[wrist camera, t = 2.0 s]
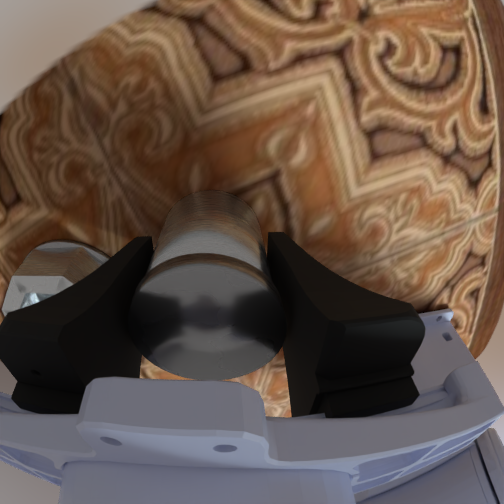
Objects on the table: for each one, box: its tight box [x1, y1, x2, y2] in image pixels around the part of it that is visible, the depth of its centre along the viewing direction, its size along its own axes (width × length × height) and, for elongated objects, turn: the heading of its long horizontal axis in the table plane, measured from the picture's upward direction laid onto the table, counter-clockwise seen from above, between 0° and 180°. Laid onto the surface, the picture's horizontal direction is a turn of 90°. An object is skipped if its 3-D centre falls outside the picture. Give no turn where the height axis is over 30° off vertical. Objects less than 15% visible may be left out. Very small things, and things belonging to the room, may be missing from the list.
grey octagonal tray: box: [2, 240, 111, 316], centre depth 14 cm, size 8×8×3 cm
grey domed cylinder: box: [127, 190, 287, 380], centre depth 11 cm, size 5×5×6 cm
